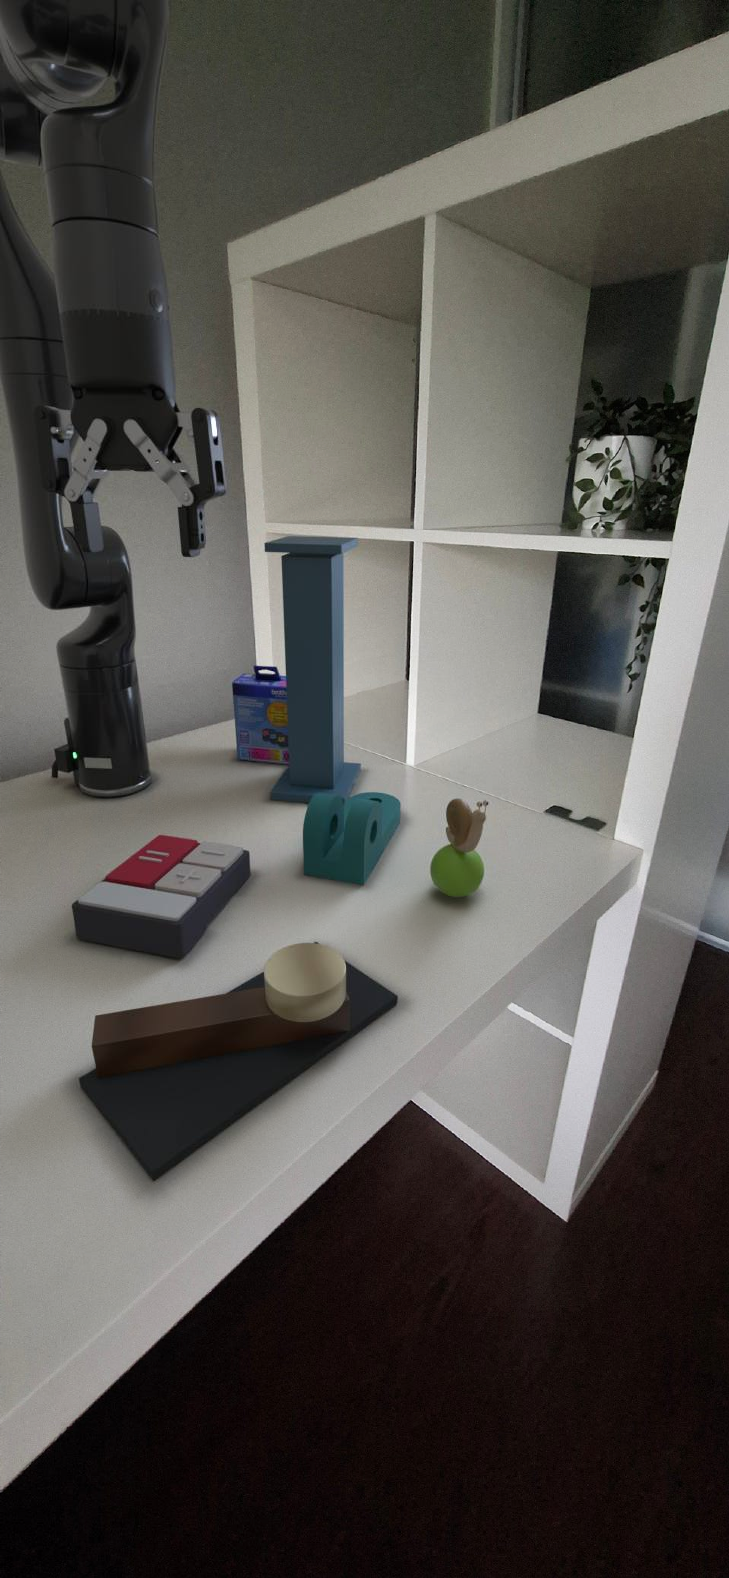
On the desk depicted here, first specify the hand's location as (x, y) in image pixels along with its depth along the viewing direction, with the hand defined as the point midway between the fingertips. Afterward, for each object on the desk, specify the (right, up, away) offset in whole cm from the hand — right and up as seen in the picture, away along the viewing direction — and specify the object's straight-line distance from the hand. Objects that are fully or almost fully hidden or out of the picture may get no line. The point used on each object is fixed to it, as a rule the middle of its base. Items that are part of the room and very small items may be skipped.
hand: (141, 554), depth 56 cm
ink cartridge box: (+4, -14, +49) cm, 51 cm away
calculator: (-1, -31, +13) cm, 33 cm away
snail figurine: (+28, -30, +15) cm, 44 cm away
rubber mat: (+10, -38, -4) cm, 40 cm away
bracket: (+17, -25, +25) cm, 40 cm away
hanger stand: (+12, -18, +39) cm, 45 cm away
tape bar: (+8, -38, -5) cm, 39 cm away
